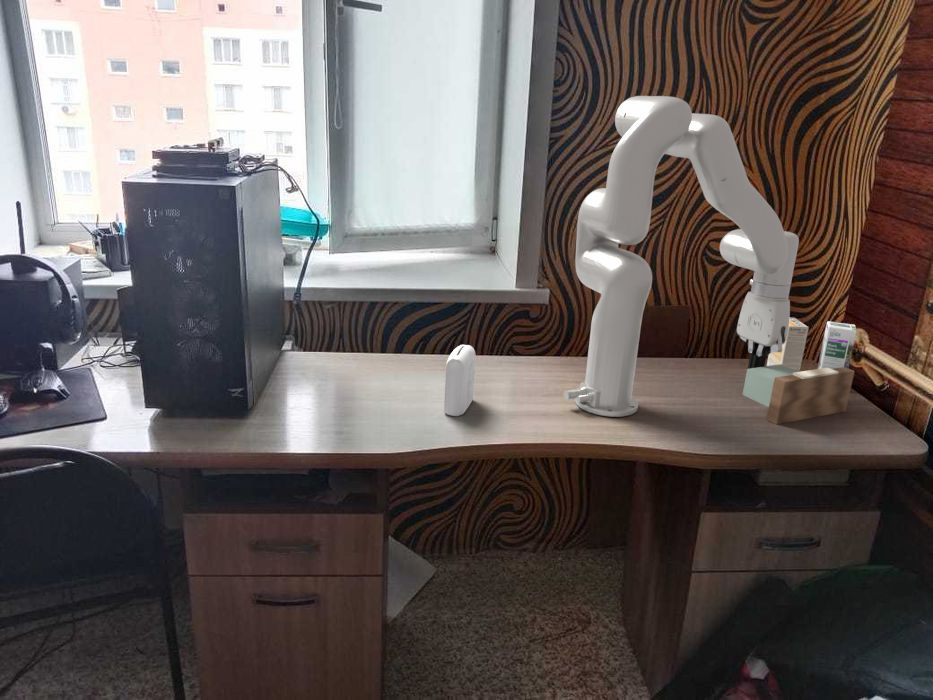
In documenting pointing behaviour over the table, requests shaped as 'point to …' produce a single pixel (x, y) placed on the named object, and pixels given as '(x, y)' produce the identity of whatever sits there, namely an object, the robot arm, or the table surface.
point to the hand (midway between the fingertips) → (755, 370)
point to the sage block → (763, 382)
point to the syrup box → (837, 345)
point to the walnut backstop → (809, 394)
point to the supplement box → (791, 346)
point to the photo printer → (459, 380)
